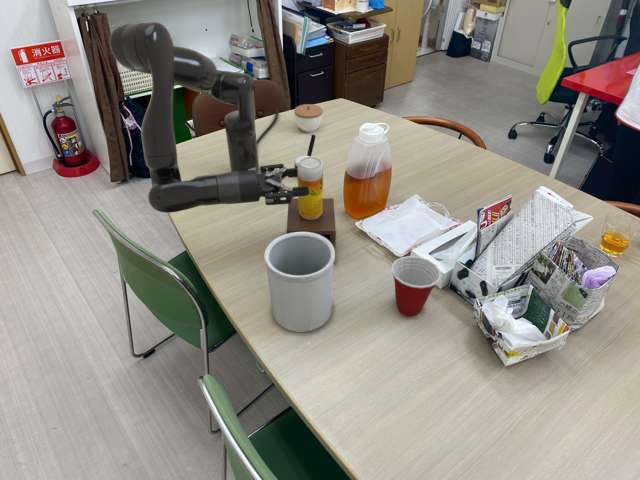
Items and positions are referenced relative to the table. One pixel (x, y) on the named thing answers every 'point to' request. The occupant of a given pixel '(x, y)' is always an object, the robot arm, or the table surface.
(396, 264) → the plastic cup
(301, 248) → the utensil holder
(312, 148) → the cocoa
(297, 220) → the brown wood-grain cube
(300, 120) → the trinket box
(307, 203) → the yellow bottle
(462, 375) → the table surface
